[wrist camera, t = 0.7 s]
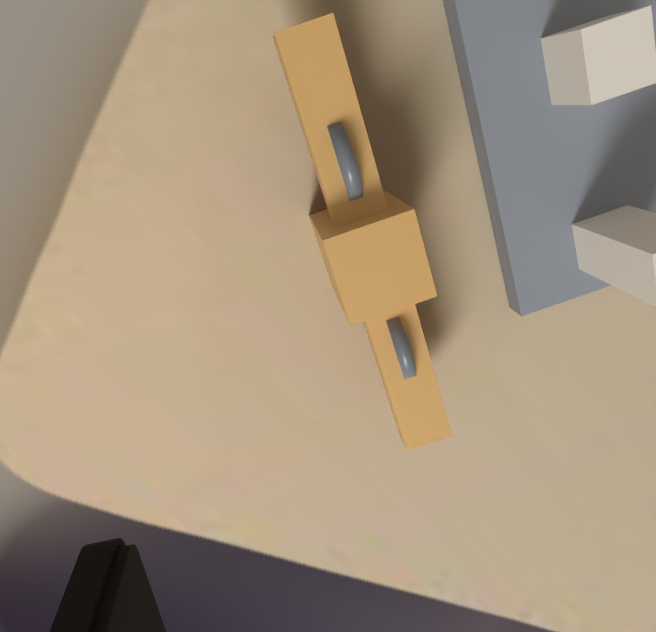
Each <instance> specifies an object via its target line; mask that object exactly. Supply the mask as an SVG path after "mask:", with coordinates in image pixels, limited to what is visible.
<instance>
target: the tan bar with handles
mask: <svg viewBox="0 0 656 632" xmlns="http://www.w3.org/2000/svg"><path fill="white" fill-rule="evenodd" d="M273 40H274V43H275V46H276V49H277V52H278V55H279V58H280V62H281V65H282V68H283V71H284V74H285V77H286V80H287V83H288V87H289V90H290V93H291V96H292V99H293V102H294V105H295V109H296V112H297V115H298V118H299V121H300V124H301V127H302V130H303V134H304V137H305V140H306V143H307V146H308V149H309V152H310V156H311V159H312V162H313V165H314V168H315V171H316V174H317V178H318V181H319V184H320V187H321V190H322V193H323V196H324V199H325V203H326V206H327V209H325V210H322V211H320V212H317V213H314V214H311V215H309V218H310V221H311V224H312V227H313V230H314V233H315V236H316V239H317V242H318V245H319V248H320V251H321V254H322V257H323V260H324V263H325V266H326V269H327V272H328V275H329V278H330V281H331V284H332V287H333V289H334V291H335V293H336V296H337V298H338V300H339V302H340V304H341V307H342V309H343V311H344V313H345V315H346V318H347V320H348V322H349V324H350V326H353V325H356V324H359V323H362V322H364V325H365V328H366V331H367V334H368V337H369V341H370V344H371V347H372V350H373V353H374V356H375V359H376V362H377V366H378V369H379V372H380V375H381V378H382V381H383V384H384V388H385V391H386V394H387V397H388V400H389V403H390V406H391V410H392V413H393V416H394V419H395V422H396V425H397V428H398V431H399V435H400V437H401V439H402V441H403V443H404V446H405V448H406V450H407V451H409V450H412V449H414V448H417V447H420V446H423V445H426V444H429V443H432V442H435V441H437V440H440V439H443V438H446V437H449V436H452V434H451V430H450V427H449V423H448V420H447V416H446V413H445V409H444V405H443V402H442V398H441V395H440V391H439V388H438V384H437V380H436V377H435V373H434V370H433V366H432V363H431V359H430V356H429V352H428V348H427V345H426V341H425V338H424V334H423V331H422V327H421V323H420V320H419V316H418V313H417V309H416V306H415V304H417V303H420V302H422V301H425V300H428V299H431V298H434V297H437V293H436V289H435V285H434V281H433V277H432V274H431V270H430V266H429V262H428V259H427V255H426V251H425V247H424V243H423V240H422V236H421V232H420V228H419V225H418V221H417V217H416V213H415V209H414V208H412V207H410V206H409V205H407V204H406V203H404V202H403V201H401V200H399V199H398V198H396V197H395V196H393V195H392V194H390V193H388V192H387V191H385V190H383V188H382V185H381V181H380V177H379V174H378V170H377V167H376V163H375V160H374V156H373V153H372V149H371V145H370V142H369V138H368V135H367V131H366V128H365V124H364V120H363V117H362V113H361V110H360V106H359V103H358V99H357V96H356V92H355V88H354V85H353V81H352V78H351V74H350V71H349V67H348V63H347V60H346V56H345V53H344V49H343V46H342V42H341V39H340V35H339V31H338V28H337V24H336V21H335V17H334V14H333V13H331V14H328V15H325V16H322V17H319V18H316V19H313V20H310V21H307V22H304V23H301V24H298V25H295V26H292V27H289V28H287V29H284V30H281V31H278V32H275V33H274V35H273Z"/></svg>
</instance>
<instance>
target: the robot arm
mask: <svg viewBox="0 0 656 632" xmlns="http://www.w3.org/2000/svg"><path fill="white" fill-rule="evenodd" d="M50 632H166V630H165V627H164V624H163V622H162V619H161V616H160V613H159V610H158V607H157V604H156V601H155V599H154V595H153V593H152V590H151V587H150V584H149V581H148V578H147V575H146V572H145V569H144V566H143V564H142V561H141V558H140V555H139V552H138V550H137V547H136V546H135V545H128V546H126V545H125V543H124V541H123V540H122V539H121V538H116V539H112V540H107V541H102V542H97V543H93V544H88V545H85V546H84V547H83V548H82V549H81V551H80V554H79V556H78V559H77V562H76V564H75V567H74V569H73V572H72V575H71V577H70V580H69V583H68V585H67V588H66V590H65V593H64V596H63V598H62V601H61V603H60V606H59V609H58V611H57V614H56V617H55V619H54V622H53V624H52V627H51V630H50Z"/></svg>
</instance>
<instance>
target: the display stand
mask: <svg viewBox="0 0 656 632" xmlns="http://www.w3.org/2000/svg"><path fill="white" fill-rule="evenodd" d="M443 2H444V7H445V11H446V16H447V20H448V25H449V30H450V34H451V39H452V43H453V48H454V53H455V57H456V62H457V66H458V71H459V76H460V80H461V85H462V89H463V94H464V99H465V103H466V108H467V112H468V117H469V122H470V126H471V131H472V135H473V140H474V145H475V149H476V154H477V158H478V163H479V168H480V172H481V177H482V181H483V186H484V191H485V195H486V200H487V204H488V209H489V213H490V218H491V223H492V227H493V232H494V236H495V241H496V246H497V250H498V255H499V259H500V264H501V269H502V273H503V278H504V282H505V287H506V292H507V296H508V301H509V305H510V308H511V309H513V310H514V311H515V312H517V313H518V314H519V315H520V316H524V315H527V314H529V313H532V312H535V311H538V310H541V309H544V308H547V307H550V306H553V305H555V304H558V303H561V302H564V301H567V300H570V299H573V298H576V297H578V296H581V295H584V294H587V293H590V292H593V291H596V290H599V289H602V288H604V287H607V286H610V285H612V286H614V287H616V288H618V289H620V290H622V291H624V292H626V293H628V294H630V295H632V296H634V297H636V298H638V299H640V300H642V301H644V302H646V303H648V304H650V305H652V306H654V307H656V0H443Z"/></svg>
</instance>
